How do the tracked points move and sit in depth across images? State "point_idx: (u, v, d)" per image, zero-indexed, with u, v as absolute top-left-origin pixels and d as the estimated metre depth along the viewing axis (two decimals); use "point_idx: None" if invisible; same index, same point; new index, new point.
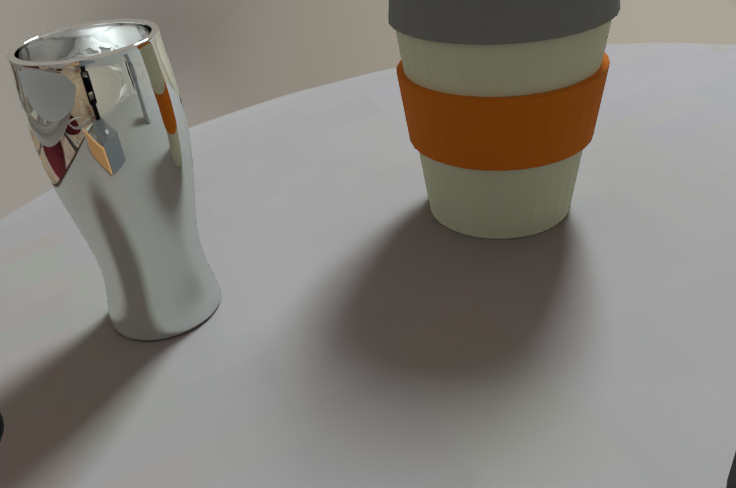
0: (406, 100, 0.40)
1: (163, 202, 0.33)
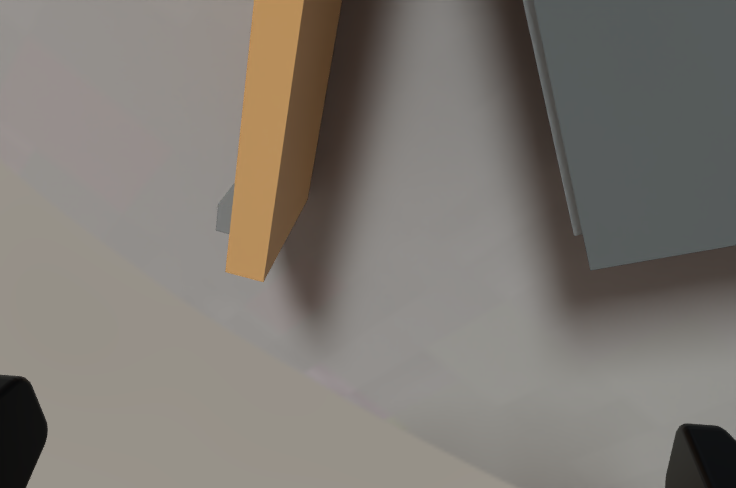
0: None
1: None
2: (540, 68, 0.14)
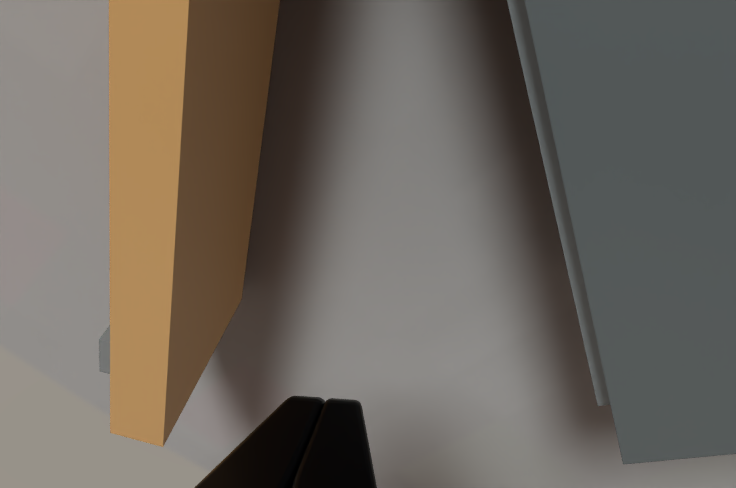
0: None
1: None
2: (552, 183, 0.09)
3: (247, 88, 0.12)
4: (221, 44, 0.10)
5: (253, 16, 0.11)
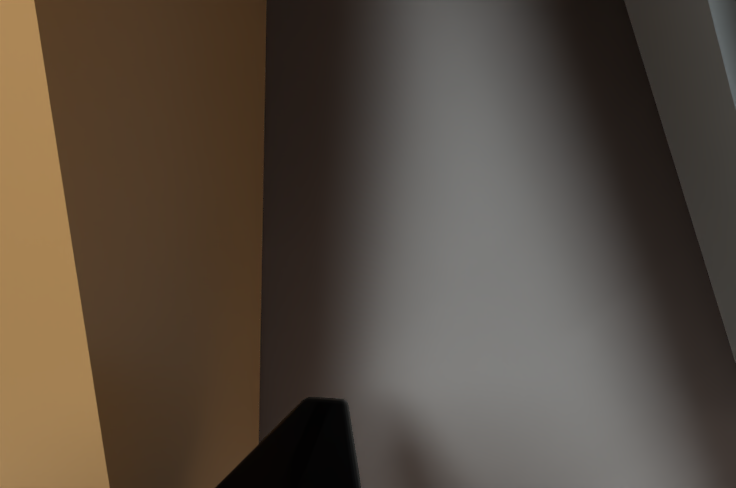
0: None
1: None
2: None
3: (227, 261, 0.08)
4: (166, 244, 0.06)
5: (222, 166, 0.07)
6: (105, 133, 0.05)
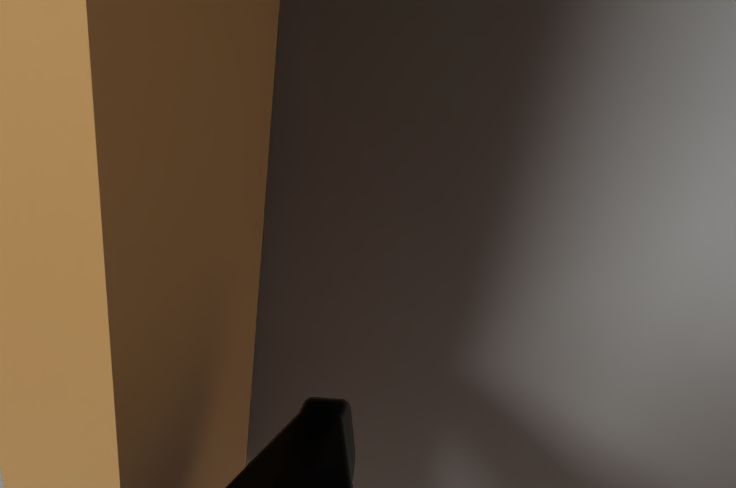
0: None
1: None
2: None
3: (231, 261, 0.08)
4: (181, 244, 0.06)
5: (233, 166, 0.07)
6: (136, 133, 0.05)
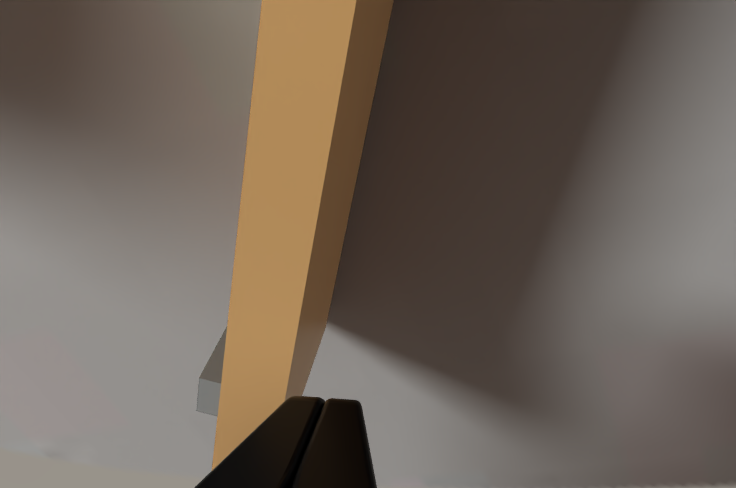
0: None
1: None
2: None
3: (363, 107, 0.11)
4: (359, 62, 0.09)
5: (378, 30, 0.10)
6: None
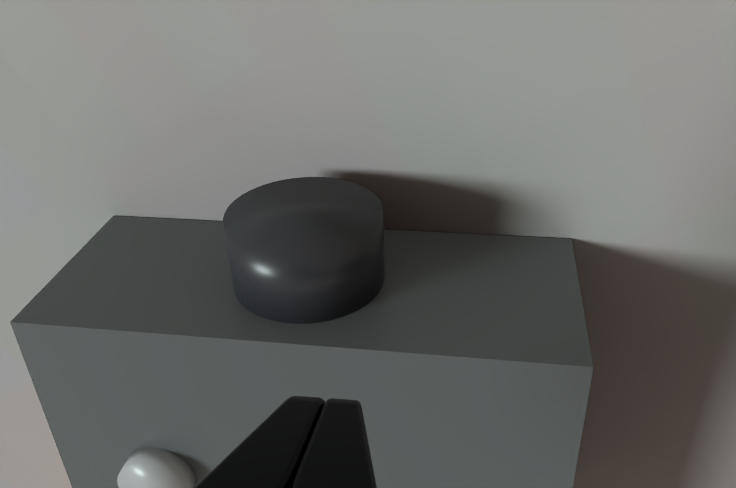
0: None
1: None
2: None
3: None
4: None
5: None
6: None
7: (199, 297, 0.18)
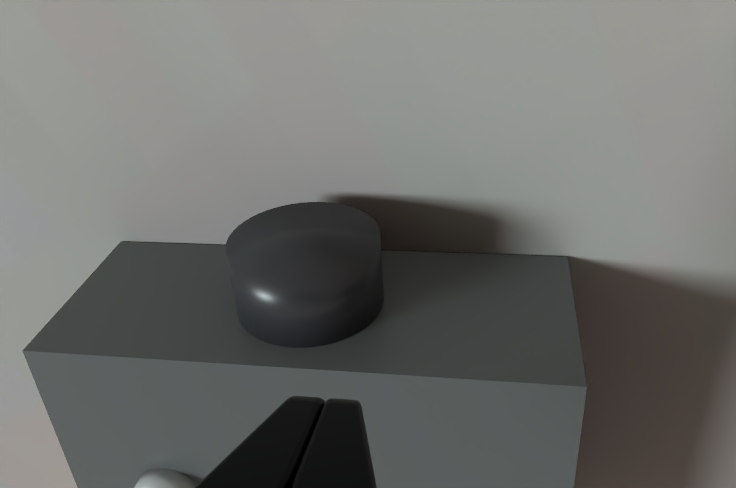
0: None
1: None
2: None
3: None
4: None
5: None
6: None
7: (204, 323, 0.18)
